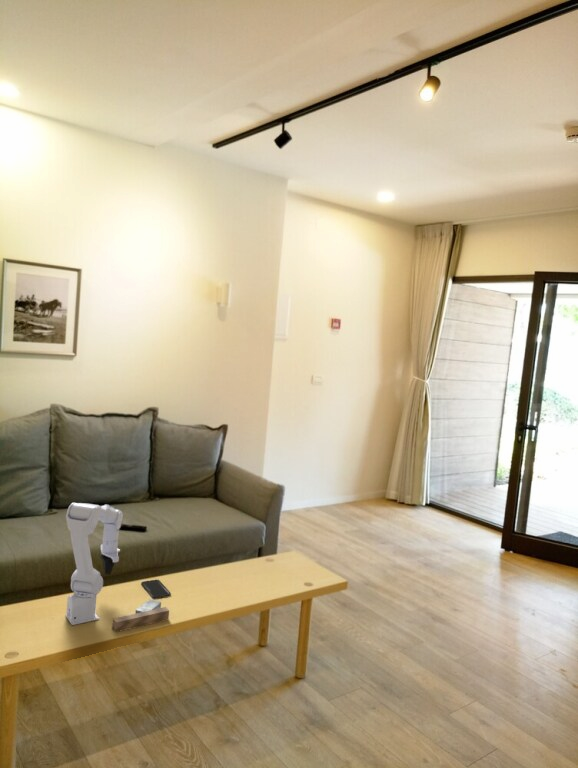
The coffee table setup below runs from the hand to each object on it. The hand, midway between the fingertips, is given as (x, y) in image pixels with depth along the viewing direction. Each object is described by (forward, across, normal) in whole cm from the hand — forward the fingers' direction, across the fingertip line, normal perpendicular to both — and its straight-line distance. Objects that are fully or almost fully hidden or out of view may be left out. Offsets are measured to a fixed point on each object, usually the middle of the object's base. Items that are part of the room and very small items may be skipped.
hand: (107, 573), depth 216 cm
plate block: (+10, -18, -10) cm, 23 cm away
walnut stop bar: (+9, -25, -4) cm, 27 cm away
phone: (+10, -2, -20) cm, 22 cm away
